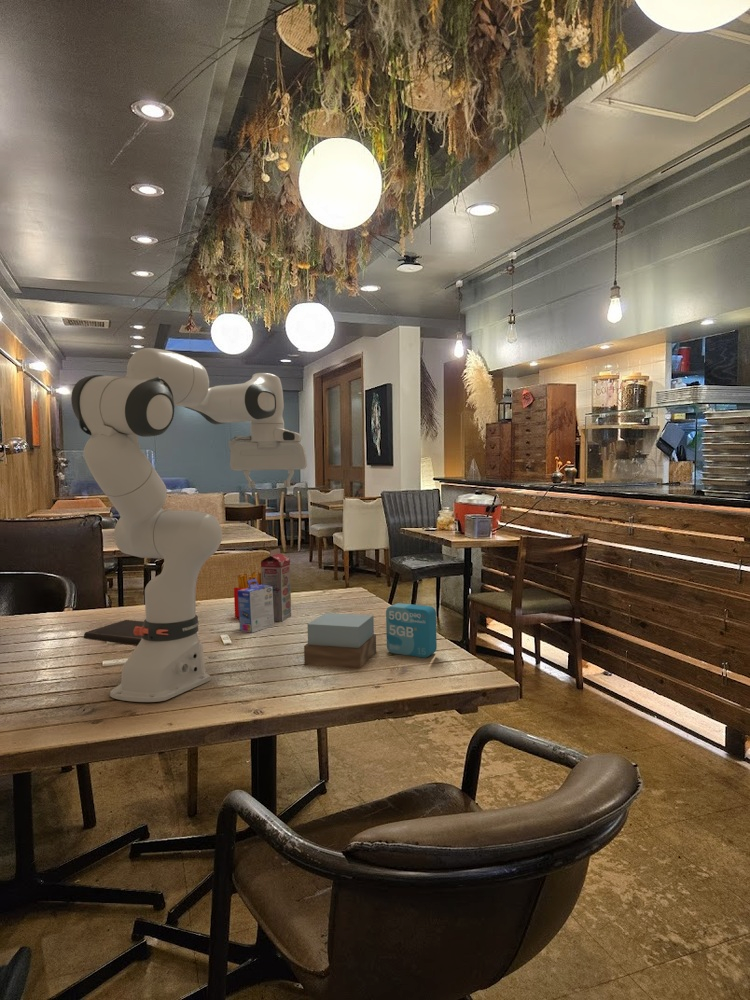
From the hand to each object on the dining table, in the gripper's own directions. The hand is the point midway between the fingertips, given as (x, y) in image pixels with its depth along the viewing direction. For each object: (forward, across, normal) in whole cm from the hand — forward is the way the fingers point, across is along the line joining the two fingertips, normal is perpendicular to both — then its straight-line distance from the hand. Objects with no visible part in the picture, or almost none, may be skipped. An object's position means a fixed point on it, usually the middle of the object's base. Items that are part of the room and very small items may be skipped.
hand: (269, 487), depth 174 cm
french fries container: (+42, -11, +29) cm, 52 cm away
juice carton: (+42, -2, +26) cm, 50 cm away
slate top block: (+38, +19, -15) cm, 45 cm away
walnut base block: (+43, +19, -16) cm, 49 cm away
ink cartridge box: (+42, -7, +16) cm, 46 cm away
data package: (+42, +36, -13) cm, 57 cm away
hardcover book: (+43, -41, +11) cm, 60 cm away
